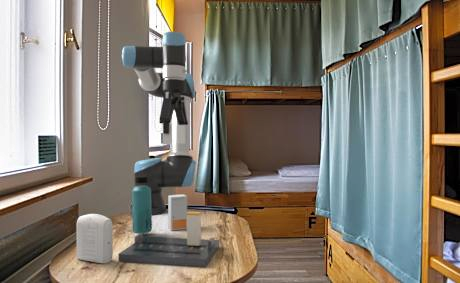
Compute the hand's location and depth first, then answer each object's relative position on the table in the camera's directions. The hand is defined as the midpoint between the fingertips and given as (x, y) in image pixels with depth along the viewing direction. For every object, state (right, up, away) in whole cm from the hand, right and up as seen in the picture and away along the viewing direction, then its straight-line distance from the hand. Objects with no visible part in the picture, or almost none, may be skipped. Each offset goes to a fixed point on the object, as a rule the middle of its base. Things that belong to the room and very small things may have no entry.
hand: (174, 144), depth 113 cm
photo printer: (-18, -31, -21) cm, 42 cm away
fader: (+8, -29, -16) cm, 34 cm away
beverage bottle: (-11, -31, +1) cm, 33 cm away
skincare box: (0, -31, +9) cm, 32 cm away
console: (+2, -31, -17) cm, 35 cm away
